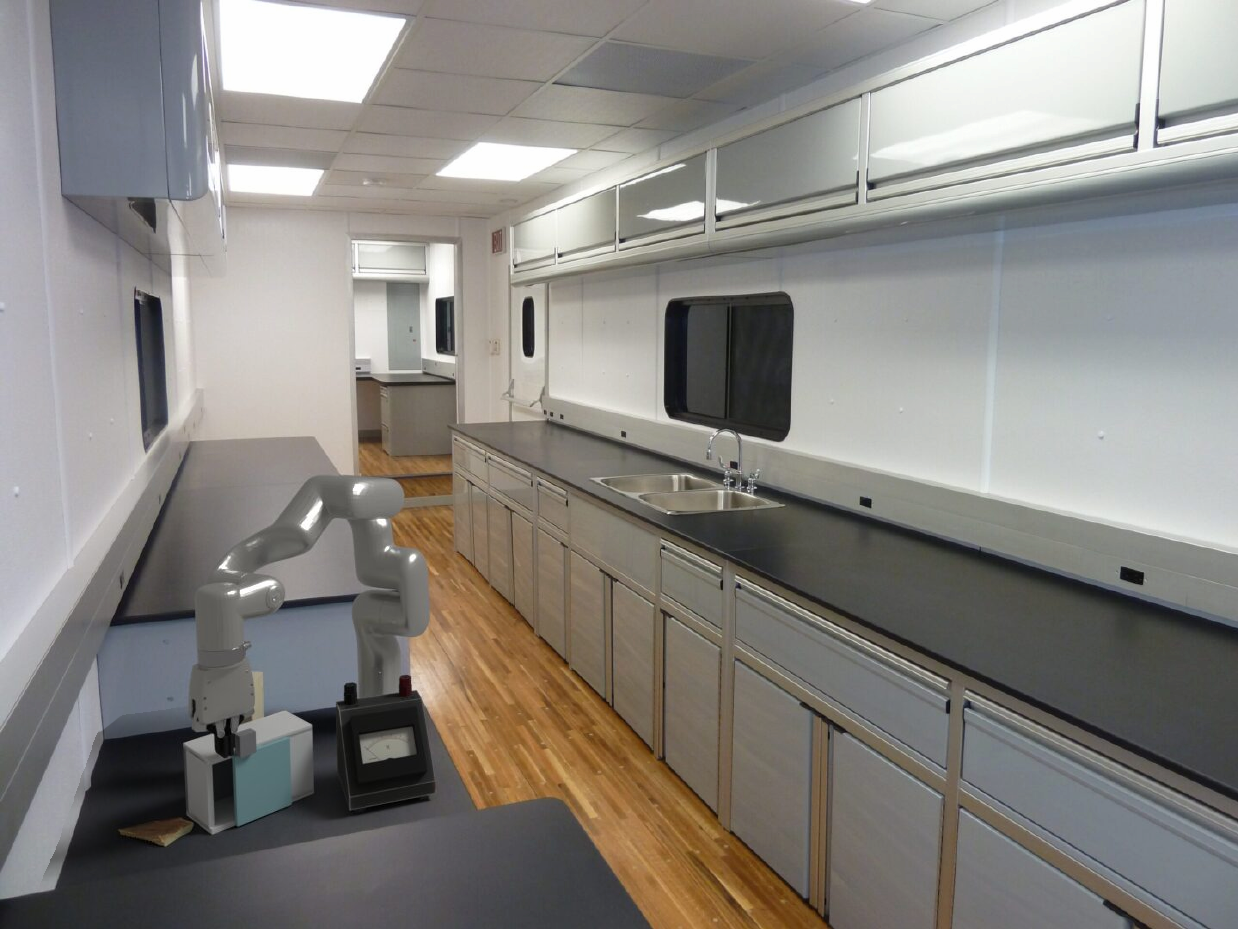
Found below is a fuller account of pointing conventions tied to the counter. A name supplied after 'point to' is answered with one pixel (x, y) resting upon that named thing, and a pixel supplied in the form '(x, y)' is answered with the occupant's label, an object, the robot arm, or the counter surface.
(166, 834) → the shard
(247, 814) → the sliding door
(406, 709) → the voltmeter
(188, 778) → the storage cabinet
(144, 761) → the counter surface
